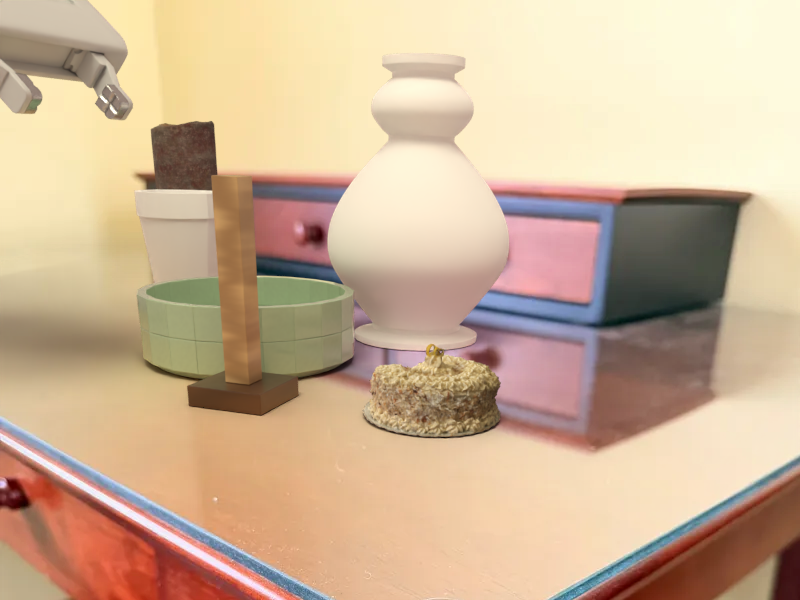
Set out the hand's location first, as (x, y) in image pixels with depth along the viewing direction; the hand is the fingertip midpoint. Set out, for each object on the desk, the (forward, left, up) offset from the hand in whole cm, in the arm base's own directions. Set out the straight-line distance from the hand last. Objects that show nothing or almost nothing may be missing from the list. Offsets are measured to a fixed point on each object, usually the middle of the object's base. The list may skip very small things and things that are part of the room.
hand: (80, 110), depth 57 cm
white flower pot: (-1, +29, -19) cm, 35 cm away
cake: (+25, -7, -19) cm, 32 cm away
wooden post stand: (+11, -4, -19) cm, 23 cm away
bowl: (+9, +10, -19) cm, 24 cm away
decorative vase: (+24, +21, -19) cm, 37 cm away
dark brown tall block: (-3, +40, -19) cm, 45 cm away
